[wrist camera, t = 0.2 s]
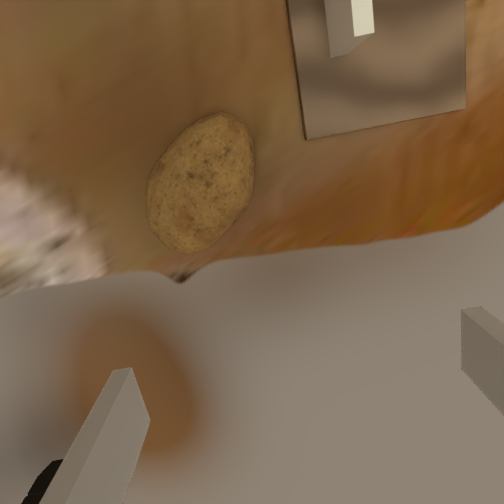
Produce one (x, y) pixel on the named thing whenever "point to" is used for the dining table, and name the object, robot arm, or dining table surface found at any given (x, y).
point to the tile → (348, 24)
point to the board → (380, 65)
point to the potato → (201, 183)
